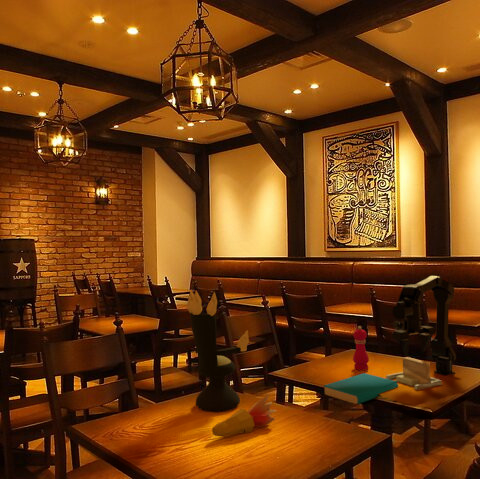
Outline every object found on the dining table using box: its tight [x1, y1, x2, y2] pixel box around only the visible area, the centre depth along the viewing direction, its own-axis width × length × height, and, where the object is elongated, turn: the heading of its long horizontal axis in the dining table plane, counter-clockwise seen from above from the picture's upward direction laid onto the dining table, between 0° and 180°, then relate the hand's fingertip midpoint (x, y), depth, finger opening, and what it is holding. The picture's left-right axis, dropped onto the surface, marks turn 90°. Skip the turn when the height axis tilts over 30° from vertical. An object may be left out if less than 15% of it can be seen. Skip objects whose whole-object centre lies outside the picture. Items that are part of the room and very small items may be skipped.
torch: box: [211, 394, 278, 437], centre depth 158 cm, size 8×8×25 cm
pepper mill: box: [352, 325, 370, 371], centre depth 227 cm, size 7×7×20 cm
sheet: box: [402, 356, 431, 384], centre depth 200 cm, size 3×12×10 cm, turn 25°
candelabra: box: [186, 289, 250, 413], centre depth 181 cm, size 19×22×45 cm
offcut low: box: [397, 381, 417, 388], centre depth 198 cm, size 4×10×2 cm, turn 26°
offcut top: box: [395, 375, 419, 387], centre depth 199 cm, size 3×8×2 cm, turn 30°
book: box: [323, 372, 399, 405], centre depth 193 cm, size 17×4×25 cm
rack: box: [385, 371, 443, 391], centre depth 199 cm, size 13×17×3 cm
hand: (414, 353), depth 201 cm, fingers open, 9 cm apart
